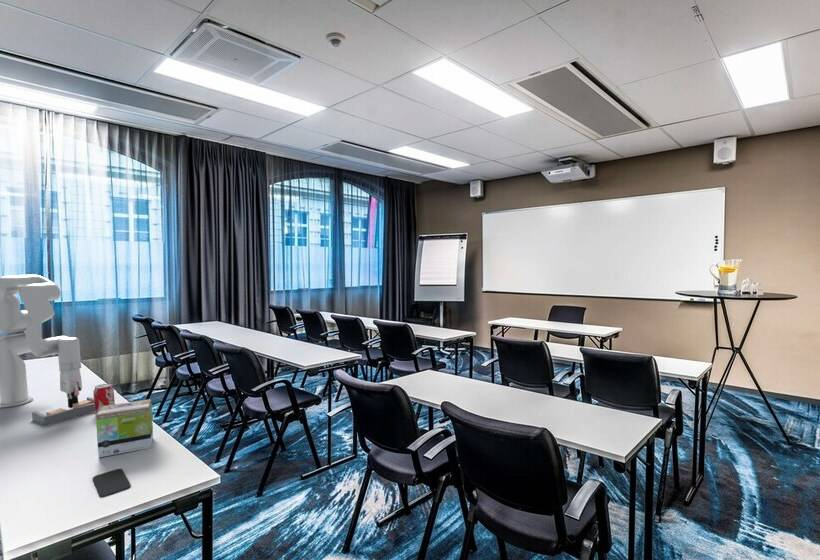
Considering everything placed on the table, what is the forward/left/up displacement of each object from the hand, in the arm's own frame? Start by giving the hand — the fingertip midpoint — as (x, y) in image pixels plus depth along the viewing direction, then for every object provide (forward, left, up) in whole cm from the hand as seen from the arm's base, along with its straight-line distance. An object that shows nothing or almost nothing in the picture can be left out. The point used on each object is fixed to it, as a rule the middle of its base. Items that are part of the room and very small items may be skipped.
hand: (73, 406), depth 187 cm
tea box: (+65, -8, -1) cm, 65 cm away
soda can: (+20, +4, -1) cm, 20 cm away
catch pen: (+6, -4, -1) cm, 7 cm away
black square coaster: (+86, -22, -2) cm, 88 cm away
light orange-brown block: (+6, -8, -1) cm, 10 cm away
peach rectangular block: (+4, +2, -1) cm, 5 cm away
